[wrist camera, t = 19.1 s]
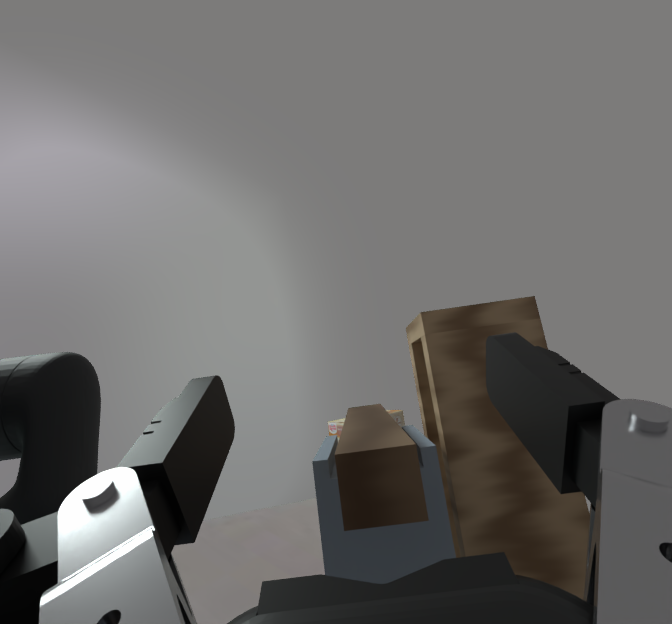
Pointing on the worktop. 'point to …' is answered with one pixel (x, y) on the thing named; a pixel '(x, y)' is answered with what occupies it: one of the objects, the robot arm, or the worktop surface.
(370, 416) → the rail
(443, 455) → the slotted wooden post
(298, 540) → the worktop surface
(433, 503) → the tall grey pillar
